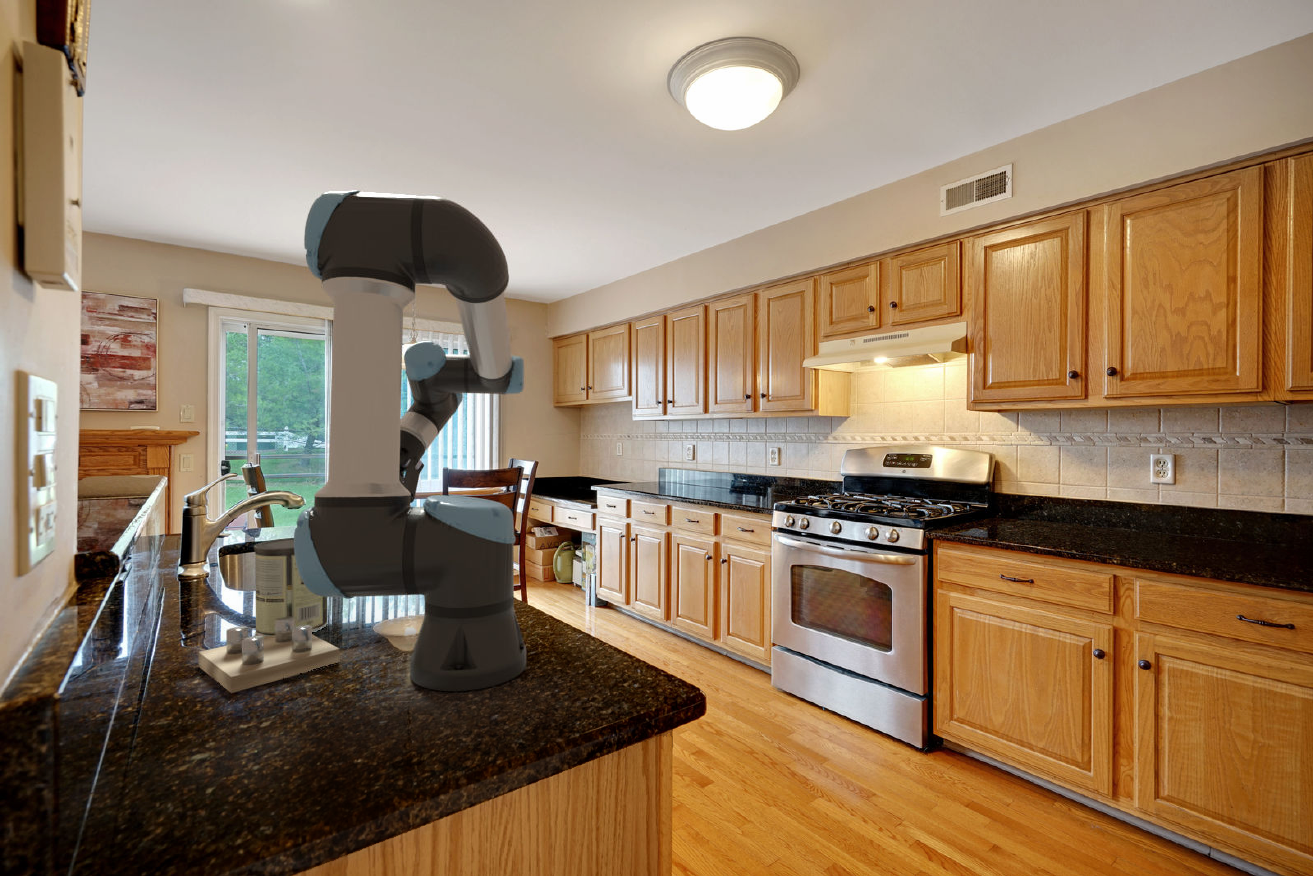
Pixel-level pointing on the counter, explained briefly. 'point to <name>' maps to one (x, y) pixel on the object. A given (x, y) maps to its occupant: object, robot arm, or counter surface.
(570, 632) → the counter surface
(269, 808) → the counter surface
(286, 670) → the stand plate
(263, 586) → the coffee can
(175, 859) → the counter surface
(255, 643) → the peg set
